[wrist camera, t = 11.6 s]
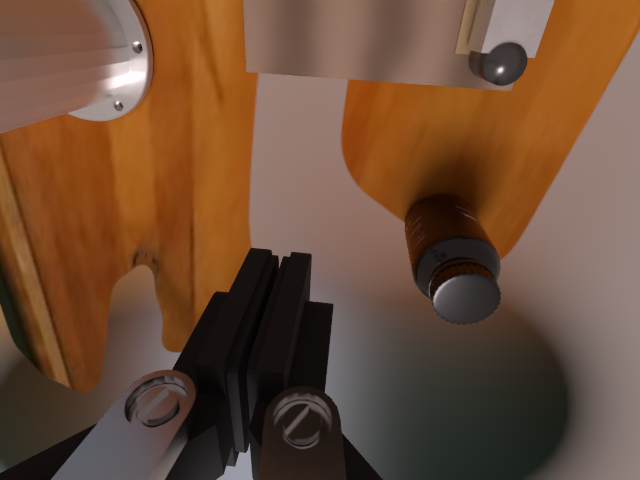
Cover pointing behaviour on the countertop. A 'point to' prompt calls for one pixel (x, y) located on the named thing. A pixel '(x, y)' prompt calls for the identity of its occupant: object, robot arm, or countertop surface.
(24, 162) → the countertop surface
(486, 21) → the stool leg
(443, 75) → the stool seat
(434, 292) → the supplement bottle
